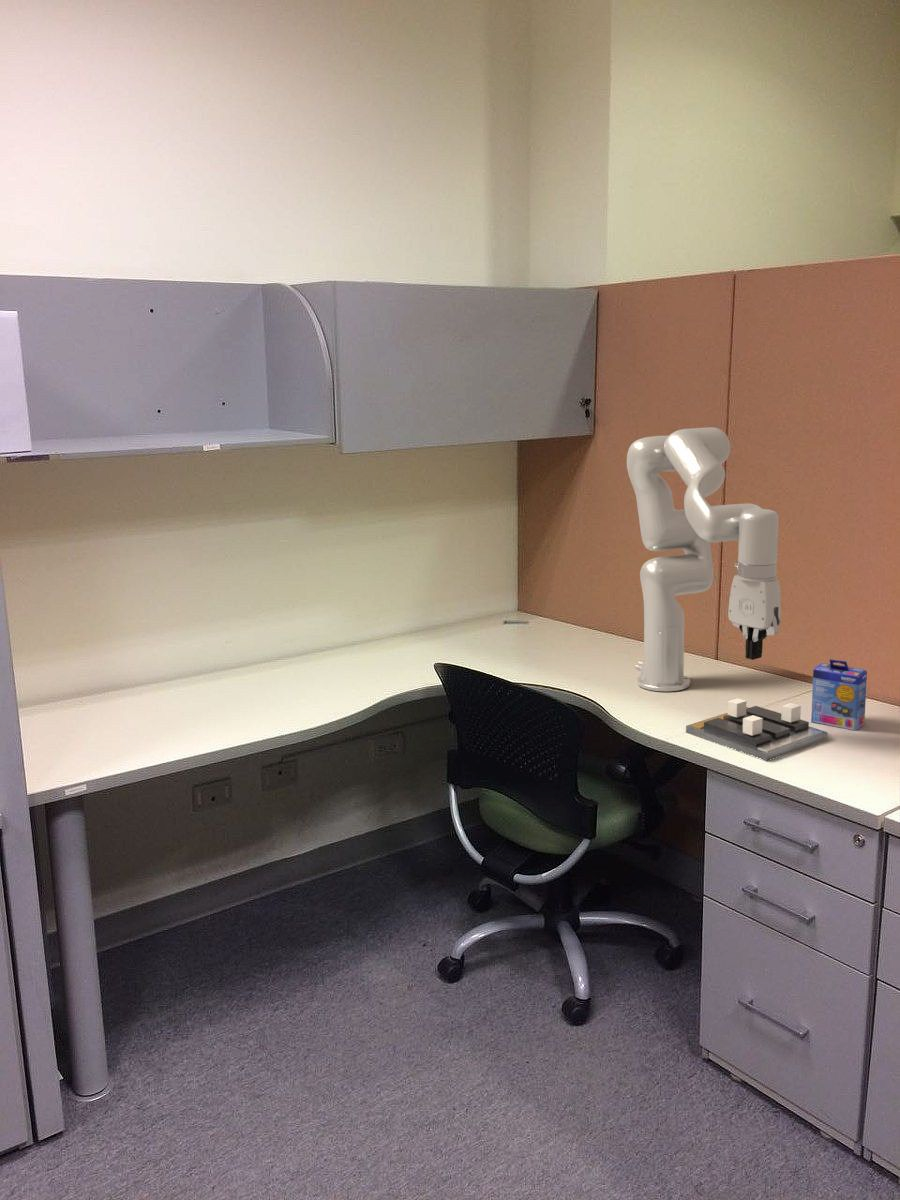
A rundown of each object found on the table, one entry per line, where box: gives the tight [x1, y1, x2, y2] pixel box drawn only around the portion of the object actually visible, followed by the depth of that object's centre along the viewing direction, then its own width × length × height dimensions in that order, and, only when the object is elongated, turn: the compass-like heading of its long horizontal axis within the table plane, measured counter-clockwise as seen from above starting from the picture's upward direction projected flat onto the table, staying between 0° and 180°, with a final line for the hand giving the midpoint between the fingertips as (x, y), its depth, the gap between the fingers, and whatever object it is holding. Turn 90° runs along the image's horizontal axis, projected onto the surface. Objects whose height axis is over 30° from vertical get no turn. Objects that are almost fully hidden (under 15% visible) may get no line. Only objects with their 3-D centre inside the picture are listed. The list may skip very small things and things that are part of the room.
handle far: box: [781, 702, 802, 722], centre depth 209 cm, size 2×3×3 cm
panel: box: [685, 705, 829, 762], centre depth 210 cm, size 21×19×3 cm
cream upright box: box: [743, 715, 763, 736], centre depth 203 cm, size 2×3×3 cm
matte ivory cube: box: [727, 697, 747, 718], centre depth 214 cm, size 2×3×3 cm
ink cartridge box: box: [810, 658, 868, 731], centre depth 214 cm, size 10×6×14 cm, turn 51°
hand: (753, 657), depth 208 cm, fingers closed
